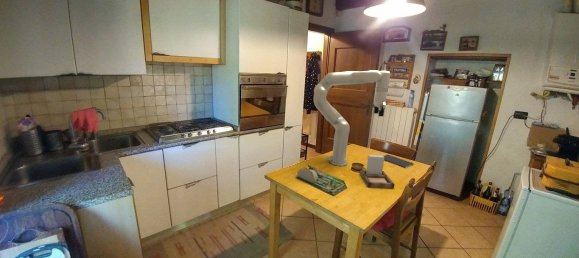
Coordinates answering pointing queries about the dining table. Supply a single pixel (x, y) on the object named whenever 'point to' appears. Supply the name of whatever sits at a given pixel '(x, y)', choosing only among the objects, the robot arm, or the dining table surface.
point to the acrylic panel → (375, 164)
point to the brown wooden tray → (377, 184)
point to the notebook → (397, 161)
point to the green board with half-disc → (321, 180)
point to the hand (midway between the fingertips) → (378, 114)
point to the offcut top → (377, 180)
